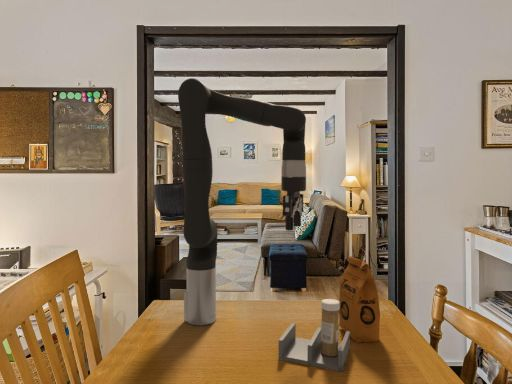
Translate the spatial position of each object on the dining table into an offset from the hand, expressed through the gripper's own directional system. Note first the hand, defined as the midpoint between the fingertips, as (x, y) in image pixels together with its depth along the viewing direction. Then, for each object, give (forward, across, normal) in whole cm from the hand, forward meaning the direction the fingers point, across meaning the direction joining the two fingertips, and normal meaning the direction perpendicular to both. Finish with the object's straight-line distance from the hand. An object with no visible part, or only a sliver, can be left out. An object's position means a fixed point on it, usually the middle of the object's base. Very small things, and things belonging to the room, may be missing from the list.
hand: (293, 228), depth 117 cm
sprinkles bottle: (+29, +17, +15) cm, 37 cm away
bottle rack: (+30, +17, +11) cm, 36 cm away
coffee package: (+30, 0, +20) cm, 36 cm away
